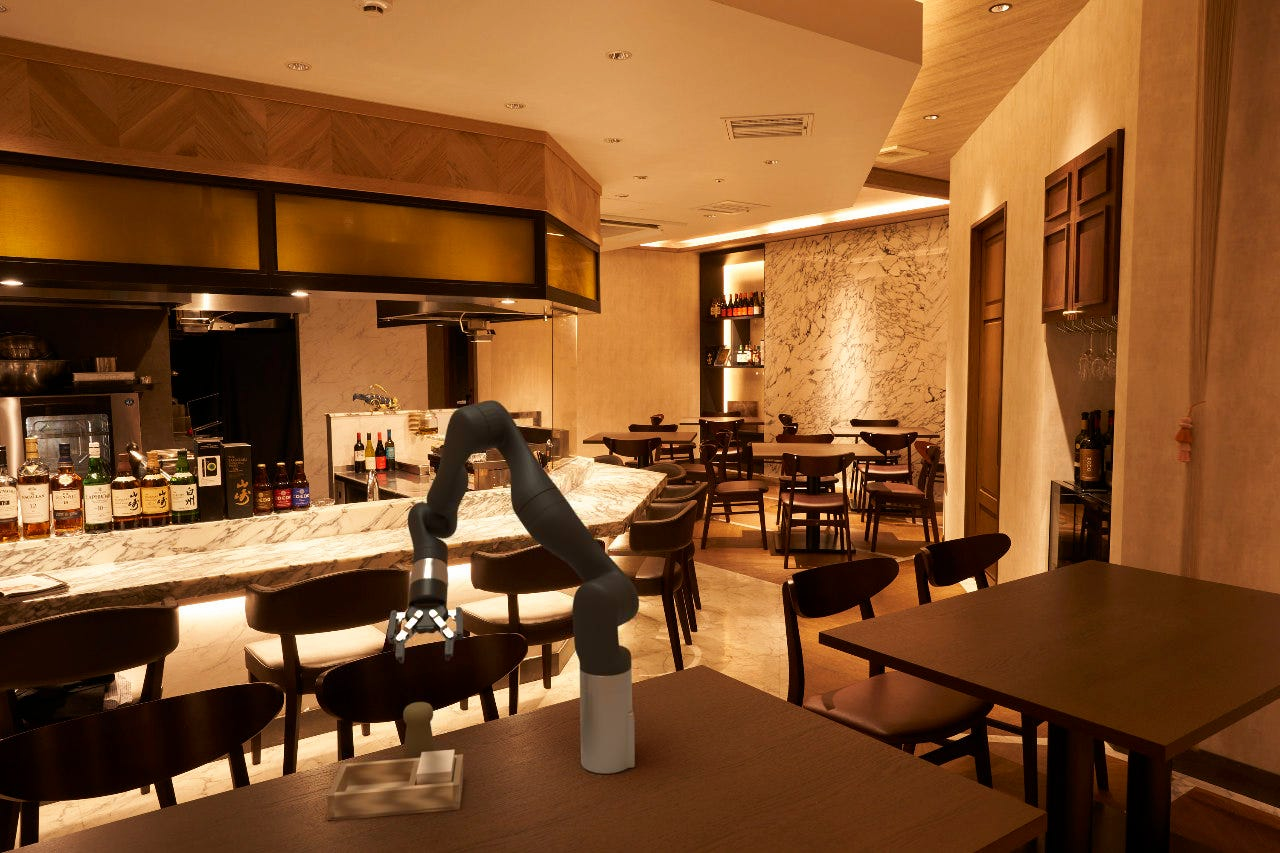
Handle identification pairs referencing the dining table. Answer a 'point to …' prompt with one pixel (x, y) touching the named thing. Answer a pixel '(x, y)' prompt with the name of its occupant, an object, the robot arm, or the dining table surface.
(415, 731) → the olive pawn
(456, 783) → the caddy
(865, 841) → the dining table surface
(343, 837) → the dining table surface
